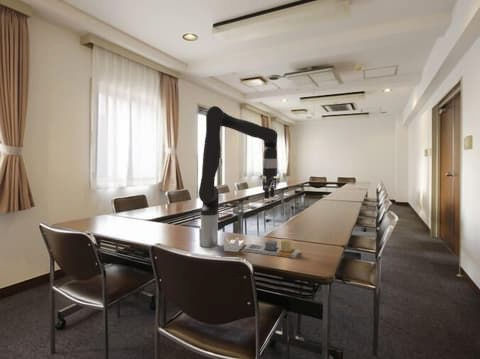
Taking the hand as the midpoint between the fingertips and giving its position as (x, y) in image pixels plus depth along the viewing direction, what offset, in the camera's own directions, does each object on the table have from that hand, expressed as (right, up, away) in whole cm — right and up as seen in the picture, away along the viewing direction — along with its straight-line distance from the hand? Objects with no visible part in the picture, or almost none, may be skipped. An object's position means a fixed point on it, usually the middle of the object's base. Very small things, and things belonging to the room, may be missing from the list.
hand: (269, 197), depth 147 cm
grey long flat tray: (0, -27, -11) cm, 29 cm away
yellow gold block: (+7, -26, -15) cm, 31 cm away
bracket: (-19, -27, -3) cm, 33 cm away
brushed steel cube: (0, -26, -11) cm, 28 cm away
